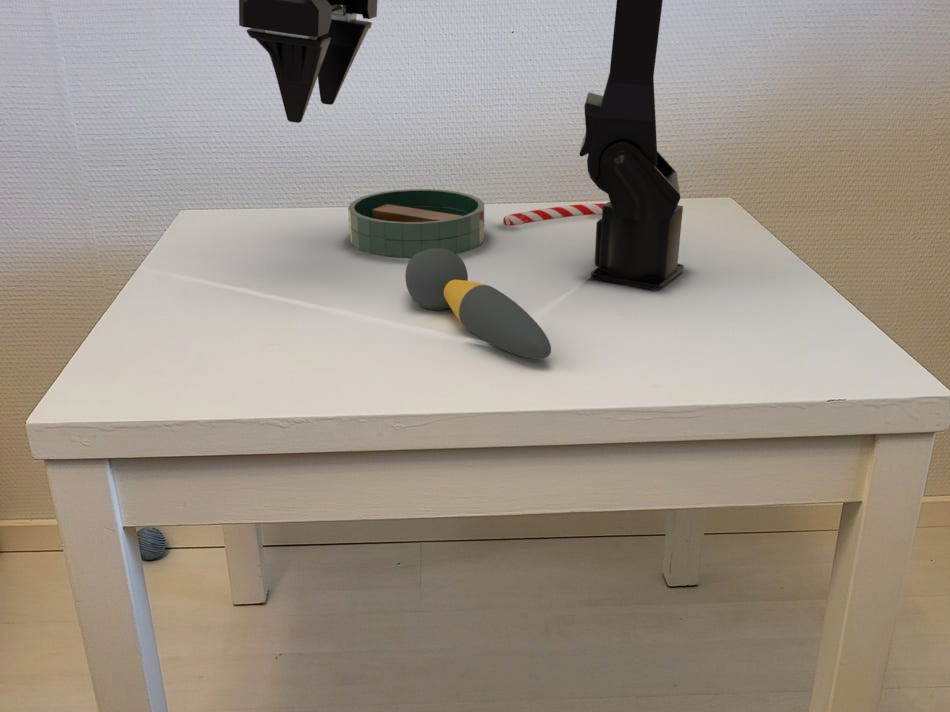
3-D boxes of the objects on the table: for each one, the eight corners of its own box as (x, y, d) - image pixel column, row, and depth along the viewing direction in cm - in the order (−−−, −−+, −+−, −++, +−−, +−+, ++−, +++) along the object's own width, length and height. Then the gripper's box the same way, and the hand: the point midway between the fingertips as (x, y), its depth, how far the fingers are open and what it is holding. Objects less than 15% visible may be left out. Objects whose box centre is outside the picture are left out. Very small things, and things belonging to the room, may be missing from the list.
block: (462, 240, 97) (462, 215, 96) (449, 247, 95) (448, 221, 94) (387, 228, 101) (386, 203, 100) (373, 234, 99) (371, 209, 98)
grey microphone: (586, 357, 72) (589, 291, 70) (534, 374, 70) (536, 306, 67) (429, 288, 86) (427, 231, 83) (381, 300, 83) (377, 241, 81)
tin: (508, 234, 100) (508, 198, 98) (437, 269, 90) (436, 230, 88) (401, 217, 106) (399, 183, 104) (323, 248, 96) (320, 211, 94)
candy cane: (497, 206, 105) (634, 200, 107) (497, 219, 105) (633, 212, 107) (512, 227, 98) (657, 219, 100) (512, 240, 98) (656, 231, 101)
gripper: (260, -104, 87) (260, 83, 94) (168, -109, 71) (176, 117, 78) (383, -88, 86) (373, 100, 93) (319, -89, 70) (312, 138, 77)
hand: (311, 112), depth 86 cm, fingers open, 9 cm apart
